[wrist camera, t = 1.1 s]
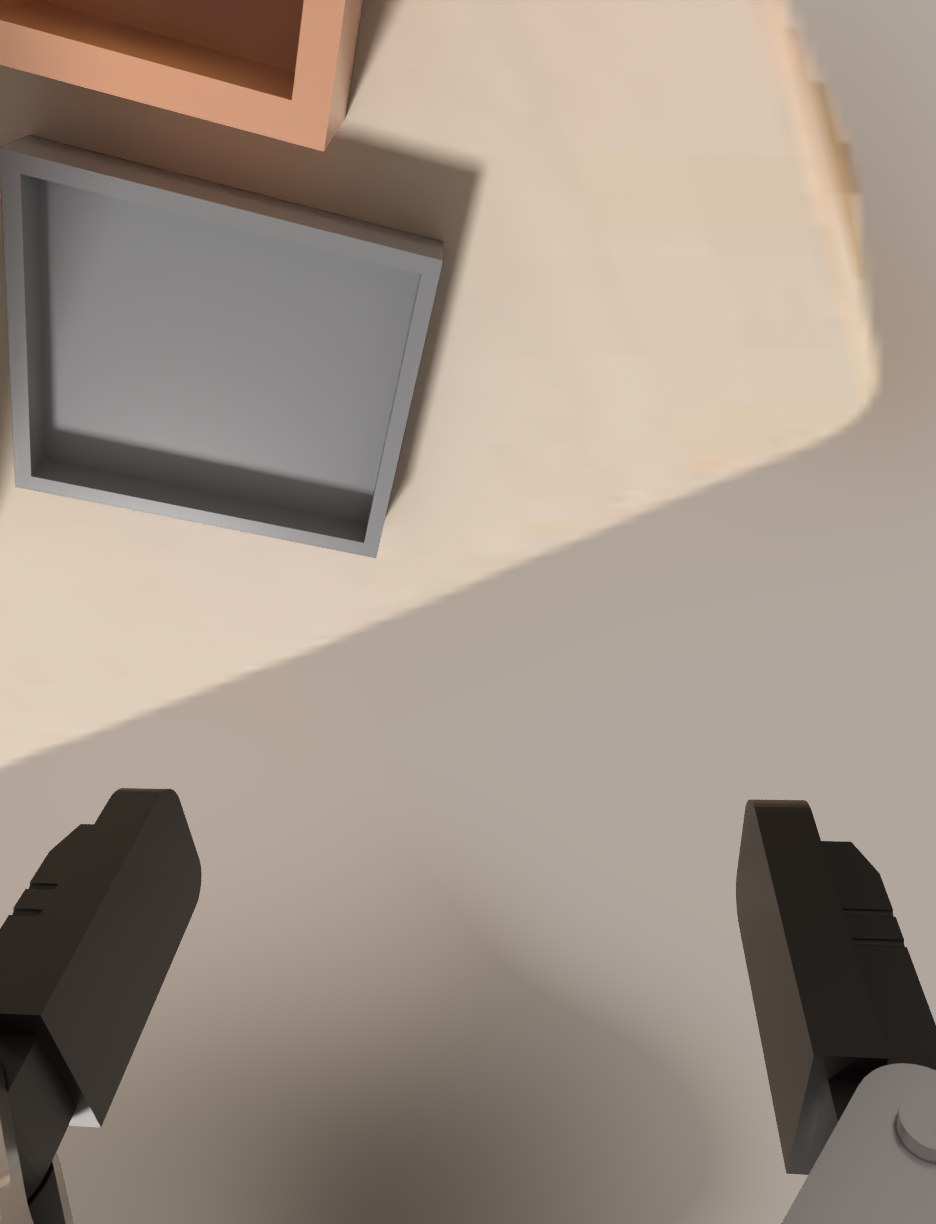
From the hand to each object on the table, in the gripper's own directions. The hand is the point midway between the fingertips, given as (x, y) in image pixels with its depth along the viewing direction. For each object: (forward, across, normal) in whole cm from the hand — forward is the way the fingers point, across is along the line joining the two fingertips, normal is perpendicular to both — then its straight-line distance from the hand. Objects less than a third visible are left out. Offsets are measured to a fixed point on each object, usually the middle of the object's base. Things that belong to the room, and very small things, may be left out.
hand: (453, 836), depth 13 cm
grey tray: (+24, +11, 0) cm, 27 cm away
